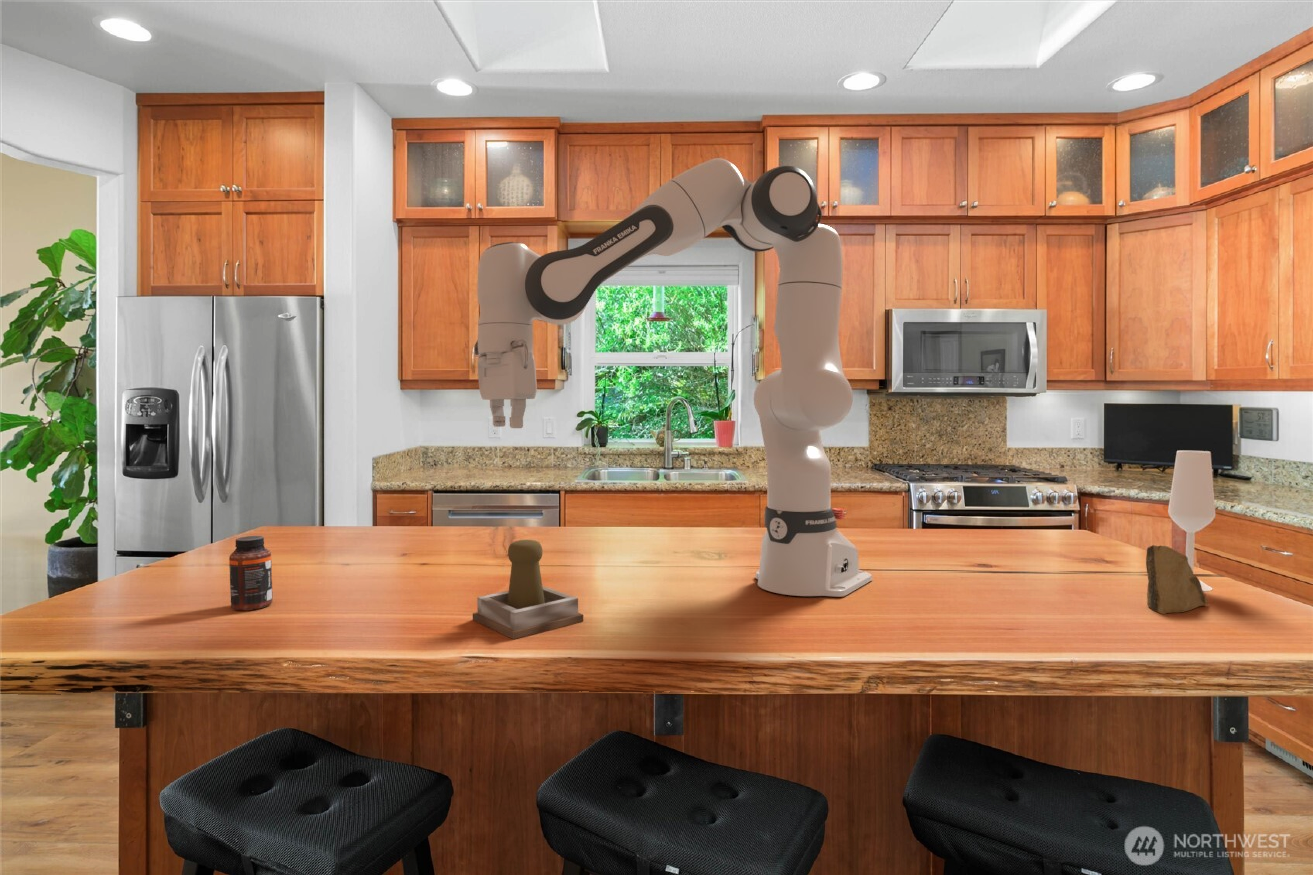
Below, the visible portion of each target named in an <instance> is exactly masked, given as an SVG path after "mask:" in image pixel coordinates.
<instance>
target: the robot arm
mask: <svg viewBox="0 0 1313 875" xmlns="http://www.w3.org/2000/svg"><path fill="white" fill-rule="evenodd" d="M817 197H818V194H817V191H816V188H815V186H814V183H813V180H812V179H811V178H810V176H809V175H808V174H807V173H806V172H805V171H804V170H802V169H800V168H799V167H796V166H792V165H783V166H782V165H780V166H776V167H773V168H771V169H769V170H767V171H765V172H764V173H762V174H761V175H760V176H759V178H758V179H756V180H755V181H754V182H753V181H750V180H748V179H746V178H745V177H744V176H742V173H741V172H740V171H739V168H737V167H736V165H735V164H733V163H732V162H731V161H729V160H727V159H725V158H721V157H720V158H719V157H717V158H711V159H709V160H706V161H705V162H704V161H703V162H702V163H699V164H697V165H694V166H692V168H689V169H687V170H685V171H683V172H682V173H679V174H677V175H676V176H675V177H672V178H671V179H670V180H669V181H667V182H665V183H664V184H662V185H661V186H659V187H658V188H656V189H655V190H654V191H653V192H652V193H651V194H649V195H648V196H647V197H646V198H645V199H644V200H643V201H642V202H640V204H639V205H638V206H637V207H636V208H635V209H634V210H632V212H631V213H630V214H629V215H628V216H626V217H625V218H623V219H622V220H621V221H619V222H618V223H616V224H615V225H613V226H611V227H610V228H607V230H604V231H603V232H602V233H600V234H599V235H597V236H596V237H594V238H592V239H590V240H589V241H587V242H586V243H584V244H582V245H579V246H577V247H573V248H569V249H564V250H563V249H562V250H555V251H551V252H548V253H545V254H543V255H540V254H538V253H536V252H535V251H533V250H532V249H530V248H529V247H528V246H527V245H526V244H525V243H523V242H513V241H508V242H501V243H496V244H493V245H491V246H489V247H487V248H486V249H485V250H484V251H483V252H482V254H481V255H480V256H479V257H480V258H479V262H478V266H477V267H478V269H477V283H476V284H477V287H476V288H477V301H478V303H479V304H478V305H479V310H480V313H479V318H478V323H477V329H478V330H477V334H478V335H477V340H476V342H475V343H474V347H473V354H474V355H473V356H474V357H476V358H478V359H477V377H478V386H479V387H478V388H479V393H480V394H479V395H480V396H481V397H480V398H481V399H482V400H485V401H488V400H489V408H490V411H491V416H492V426H493V427H495V428H497V427H499V428H500V427H501V428H502V427H506V416H505V413H504V406H505V400H510V407H511V410H510V417H509V427H510V428H511V429H522V428H524V416H525V413H526V408H527V400H533V399H535V398H536V396H537V392H538V387H537V386H538V384H537V371H536V370H537V368H536V360H535V356H534V332H533V331H534V328H533V327H534V326H533V322H534V321H539V322H544V323H548V324H551V325H556V326H563V325H569V324H570V323H572V322H575V321H576V320H577V319H579V318H580V317H581V315H582V314H583V313H584V311H585V309H586V308H587V307H586V306H587V305H588V303H589V302H590V300H591V299H592V297H593V295H594V293H595V292H596V290H597V289H598V288H599V287H600V286H601V284H603V283H604V282H605V281H607V280H609V279H611V277H613V276H614V275H616V274H618V273H620V271H623V270H624V269H625V268H627V267H629V266H630V265H631V264H633V263H635V262H636V261H638V260H640V259H643V258H644V257H646V256H651V255H658V256H664V257H670V256H672V255H674V254H675V255H676V254H678V253H680V252H682V251H684V250H686V249H688V248H690V247H692V246H694V245H695V244H697V243H698V242H700V241H702V239H704V238H706V237H707V236H708V235H710V234H712V233H713V232H715V231H716V230H717V229H720V228H722V230H724V231H725V232H727V234H729V235H730V236H731V237H732V238H733V240H734V241H735V242H736V243H737V244H738V245H739V246H741V247H742V248H743V249H745V250H747V251H749V252H754V253H755V252H756V253H760V252H762V253H763V252H767V251H770V250H772V249H774V250H775V254H776V255H777V258H778V264H779V273H778V280H777V281H778V282H777V290H776V291H777V293H776V302H775V303H776V304H775V312H774V313H775V314H774V324H773V325H774V326H773V330H774V331H773V332H774V334H775V337H776V339H777V341H778V342H777V343H778V346H779V347H778V348H779V354H780V356H779V357H780V363H781V364H780V366H781V369H777V370H775V371H773V372H771V373H769V374H768V375H766V376H765V377H764V378H763V379H762V380H761V381H759V383H758V384H757V386H756V388H755V391H754V393H753V405H754V408H755V411H756V413H757V414H758V417H759V422H760V428H761V434H762V439H763V445H764V450H765V458H766V469H767V470H766V472H767V473H766V474H767V475H766V476H767V477H766V478H767V481H766V482H767V484H766V485H767V486H766V488H767V491H766V492H767V493H766V494H767V498H766V500H767V502H766V503H767V506H765V508H764V514H763V518H764V527H765V528H766V531H765V533H764V534H763V535H762V538H761V548H760V558H759V560H760V561H759V569H758V570H757V571H755V579H756V580H757V586H758V587H759V588H760V589H762V590H765V591H768V592H771V593H776V594H780V595H784V596H785V595H786V596H787V595H788V596H797V597H822V596H823V597H836V598H837V597H838V598H840V597H845V596H847V595H849V594H850V593H853V592H854V591H855V590H857V589H860V588H861V587H863V586H865V585H866V584H868V583H870V582H871V581H873V576H872V574H871V573H869V572H867V571H864V570H861V569H860V567H859V566H860V565H859V551H858V548H857V547H856V546H855V545H854V544H853V543H852V542H851V541H850V540H848V539H847V538H846V536H844V534H842V532H840V530H838V529H837V528H838V524H837V521H836V520H840V521H842V520H843V519H845V518H844V517H846V516H845V515H846V512H845V511H844V510H845V509H843V508H836V507H831V504H832V503H831V500H832V498H831V495H832V494H831V492H832V491H831V490H832V466H831V462H830V460H829V458H828V456H827V454H826V452H825V449H824V445H823V442H822V441H823V440H822V437H821V432H820V431H822V430H823V431H824V430H825V429H829V428H831V427H834V426H835V425H837V424H839V423H842V421H844V420H845V418H846V417H847V416H848V414H850V412H851V410H852V405H853V400H854V399H853V398H854V396H853V395H854V394H853V389H852V386H851V384H850V382H849V380H848V378H846V376H845V374H844V369H843V364H842V363H843V362H842V357H841V349H840V341H839V340H840V339H839V334H840V333H839V328H840V315H841V314H840V313H841V301H842V290H843V275H844V274H843V267H844V266H843V265H844V264H843V249H842V242H841V241H842V240H841V237H840V235H839V233H838V232H837V231H836V230H835V229H834V228H832V227H830V226H829V225H826V224H823V223H821V220H822V216H823V214H822V213H823V212H822V209H821V207H820V205H819V202H818V198H817ZM817 218H818V219H817Z"/></svg>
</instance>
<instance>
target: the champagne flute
mask: <svg viewBox="0 0 1313 875" xmlns="http://www.w3.org/2000/svg"><path fill="white" fill-rule="evenodd" d="M1213 480H1214V479H1213V466H1212V453H1211V451H1208V450H1205V451H1204V450H1177V451H1176V455H1175V461H1174V468H1173V475H1172V483H1171V488H1170V489H1171V490H1170V494H1169V502H1168V508H1167V514H1168V516H1169V517H1170V519H1171V520H1172V521H1173V522H1174V523H1175V524H1176V525H1177V526H1178V527H1179V528H1180V529H1181V530H1183V531H1185V532H1186V535H1185V539H1186V541H1185V542H1186V543H1185V556H1187V558H1188V564H1189V566H1190V567H1191V569H1192V571H1193V572H1194V569H1195V568H1194V566H1195V565H1194V564H1195V563H1194V561H1195V535H1196V533H1197V532H1199V531H1201V530H1203V529H1204V528H1206V527H1208V525H1210V524H1211V523H1212V522H1213V521H1214V519H1215V518H1216V504H1215V503H1216V502H1215V494H1214V493H1215V492H1214V491H1215V490H1214V481H1213ZM1199 581H1200V584H1201V588H1202V590H1203V592H1209V591H1212V590H1213V588H1212V587H1211V586H1209V585H1208V584H1206V583H1204V582H1203V581H1202V580H1201V579H1199Z"/></svg>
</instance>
